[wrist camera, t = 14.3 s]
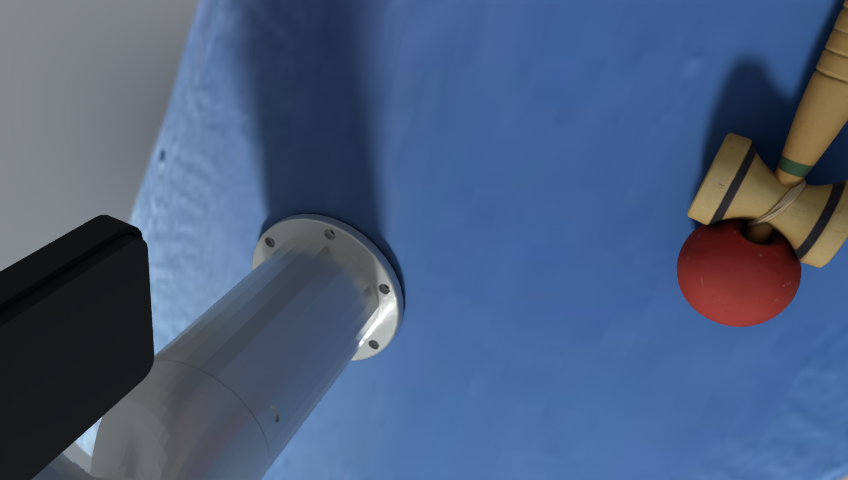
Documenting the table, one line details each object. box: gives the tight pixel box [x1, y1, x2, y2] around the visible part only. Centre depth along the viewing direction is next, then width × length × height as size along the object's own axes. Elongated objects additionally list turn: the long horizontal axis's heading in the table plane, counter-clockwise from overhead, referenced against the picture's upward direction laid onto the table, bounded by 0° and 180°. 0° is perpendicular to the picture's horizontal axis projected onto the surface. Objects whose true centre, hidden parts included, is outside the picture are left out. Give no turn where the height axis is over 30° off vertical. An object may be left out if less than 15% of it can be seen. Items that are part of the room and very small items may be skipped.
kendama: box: [677, 0, 848, 327], centre depth 33 cm, size 8×6×18 cm
